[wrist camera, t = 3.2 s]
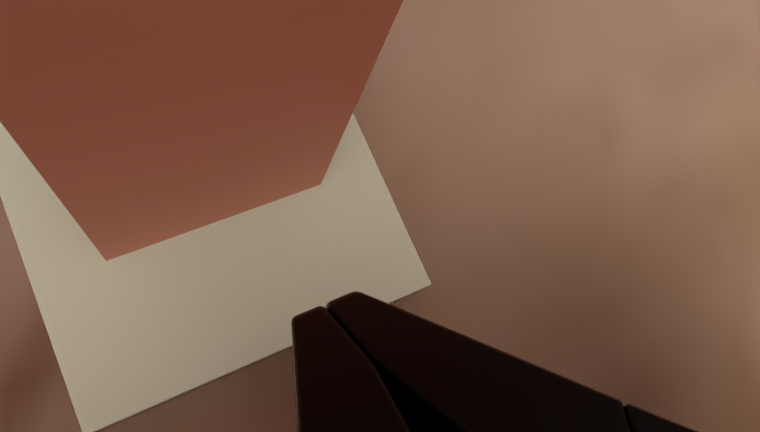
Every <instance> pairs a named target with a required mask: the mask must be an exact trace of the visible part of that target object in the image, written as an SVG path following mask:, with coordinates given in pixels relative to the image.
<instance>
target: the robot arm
mask: <svg viewBox="0 0 760 432" xmlns="http://www.w3.org/2000/svg"><path fill="white" fill-rule="evenodd" d="M291 330H292V347H293V364H294V382H295V399H296V416H297V432H698V431H695V430H693V429H690V428H688V427H685V426H682V425H680V424H677V423H675V422H672V421H670V420H667V419H665V418H662V417H660V416H657V415H655V414H653V413H650V412H648V411H645V410H643V409H641V408H638V407H636V406H633V405H631V404H627V405H625V406H623V403H622V402H621V401H620V400H618V399H616V398H613V397H611V396H609V395H606V394H604V393H602V392H599V391H597V390H594V389H592V388H590V387H587V386H585V385H582V384H580V383H578V382H575V381H573V380H570V379H568V378H566V377H563V376H561V375H558V374H556V373H554V372H551V371H549V370H546V369H544V368H542V367H539V366H537V365H534V364H532V363H530V362H527V361H525V360H522V359H520V358H518V357H515V356H513V355H510V354H508V353H506V352H503V351H501V350H498V349H496V348H494V347H491V346H489V345H486V344H484V343H482V342H479V341H477V340H474V339H472V338H470V337H467V336H465V335H462V334H460V333H458V332H455V331H453V330H450V329H448V328H446V327H443V326H441V325H438V324H436V323H434V322H431V321H429V320H427V319H424V318H422V317H419V316H417V315H415V314H412V313H410V312H407V311H405V310H403V309H400V308H398V307H395V306H393V305H391V304H388V303H386V302H383V301H381V300H379V299H376V298H374V297H371V296H369V295H367V294H364V293H362V292H357V291H354V292H350V293H348V294H346V295H343V296H341V297H339V298H336V299H334V300H331V301H329V302H328V303H327V305H326V308H325V307H323V306H317V307H315V308H312V309H310V310H308V311H305V312H303V313H301V314H298V315H296V316H294V317H293V318H292V321H291Z"/></svg>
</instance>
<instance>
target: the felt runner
mask: <svg viewBox="0 0 760 432" xmlns="http://www.w3.org/2000/svg"><path fill="white" fill-rule="evenodd" d="M0 196H1V199H2V202H3V205H4V208H5V211H6V213H7V216H8V219H9V222H10V225H11V228H12V231H13V234H14V237H15V239H16V242H17V245H18V248H19V251H20V254H21V257H22V260H23V262H24V265H25V268H26V271H27V274H28V277H29V280H30V283H31V286H32V288H33V291H34V294H35V297H36V300H37V303H38V306H39V309H40V311H41V314H42V317H43V320H44V323H45V326H46V329H47V332H48V335H49V337H50V340H51V343H52V346H53V349H54V352H55V355H56V358H57V360H58V363H59V366H60V369H61V372H62V375H63V378H64V381H65V384H66V386H67V389H68V392H69V395H70V398H71V401H72V404H73V407H74V409H75V412H76V415H77V418H78V421H79V424H80V427H81V430H82V432H97V431H99V430H101V429H103V428H106V427H108V426H110V425H113V424H115V423H117V422H120V421H122V420H124V419H126V418H129V417H131V416H133V415H136V414H138V413H140V412H142V411H145V410H147V409H149V408H152V407H154V406H156V405H158V404H161V403H163V402H165V401H168V400H170V399H172V398H174V397H177V396H179V395H181V394H184V393H186V392H188V391H191V390H193V389H195V388H197V387H200V386H202V385H204V384H207V383H209V382H211V381H213V380H216V379H218V378H220V377H223V376H225V375H227V374H229V373H232V372H234V371H236V370H239V369H241V368H243V367H246V366H248V365H250V364H252V363H255V362H257V361H259V360H262V359H264V358H266V357H268V356H271V355H273V354H275V353H278V352H280V351H282V350H284V349H287V348H289V347H291V346H292V330H291V321H292V318H293V317H294V316H296V315H298V314H301V313H303V312H305V311H308V310H310V309H312V308H315V307H317V306H323V307H325V308H326V305H327V303H328V302H329V301H331V300H334V299H336V298H339V297H341V296H343V295H346V294H348V293H350V292H354V291H357V292H362V293H364V294H367V295H369V296H371V297H374V298H376V299H379V300H381V301H383V302H386V303H388V304H390V303H392V302H394V301H397V300H399V299H401V298H404V297H406V296H408V295H411V294H413V293H415V292H417V291H420V290H422V289H424V288H426V287H428V286H429V285H431V282H430V280H429V278H428V275H427V273H426V271H425V269H424V267H423V264H422V262H421V260H420V258H419V256H418V254H417V251H416V249H415V247H414V245H413V243H412V240H411V238H410V236H409V234H408V232H407V230H406V227H405V225H404V223H403V221H402V219H401V216H400V214H399V212H398V210H397V208H396V206H395V203H394V201H393V199H392V197H391V195H390V192H389V190H388V188H387V186H386V184H385V182H384V179H383V177H382V175H381V173H380V171H379V168H378V166H377V164H376V162H375V160H374V158H373V155H372V153H371V151H370V149H369V147H368V144H367V142H366V140H365V138H364V136H363V134H362V131H361V129H360V127H359V125H358V123H357V121H356V118H355V116H354V114H353V113H352V115H351V118H350V120H349V122H348V124H347V127H346V129H345V131H344V133H343V136H342V138H341V140H340V142H339V145H338V147H337V149H336V151H335V153H334V156H333V158H332V160H331V162H330V165H329V167H328V169H327V171H326V174H325V176H324V178H323V180H322V183H321V185H318V186H315V187H312V188H310V189H307V190H304V191H301V192H298V193H296V194H293V195H290V196H287V197H284V198H282V199H279V200H276V201H273V202H270V203H268V204H265V205H262V206H259V207H256V208H254V209H251V210H248V211H245V212H242V213H240V214H237V215H234V216H231V217H228V218H226V219H223V220H220V221H217V222H214V223H212V224H209V225H206V226H203V227H200V228H198V229H195V230H192V231H189V232H186V233H184V234H181V235H178V236H175V237H172V238H170V239H167V240H164V241H161V242H158V243H156V244H153V245H150V246H147V247H144V248H142V249H139V250H136V251H133V252H130V253H128V254H125V255H122V256H119V257H116V258H113V259H111V260H108V261H106V260H105V259H104V257H103V256H102V255H101V254H100V252H99V251H98V250H97V248H96V247H95V246H94V244H93V243H92V242H91V240H90V239H89V238H88V236H87V235H86V234H85V233H84V231H83V230H82V229H81V227H80V226H79V225H78V223H77V222H76V221H75V219H74V218H73V217H72V215H71V214H70V213H69V211H68V210H67V209H66V208H65V206H64V205H63V204H62V202H61V201H60V200H59V198H58V197H57V196H56V194H55V193H54V192H53V190H52V189H51V188H50V187H49V185H48V184H47V183H46V181H45V180H44V179H43V177H42V176H41V175H40V173H39V172H38V171H37V169H36V168H35V167H34V165H33V164H32V163H31V162H30V160H29V159H28V158H27V156H26V155H25V154H24V152H23V151H22V150H21V148H20V147H19V146H18V144H17V143H16V142H15V141H14V139H13V138H12V137H11V135H10V134H9V133H8V131H7V130H6V129H5V127H4V126H3V125H2V123H1V122H0Z"/></svg>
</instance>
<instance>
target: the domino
mask: <svg viewBox="0 0 760 432" xmlns="http://www.w3.org/2000/svg"><path fill="white" fill-rule="evenodd" d="M402 1H403V0H0V122H1V123H2V125H3V126H4V127H5V129H6V130H7V131H8V133H9V134H10V135H11V137H12V138H13V139H14V141H15V142H16V143H17V144H18V146H19V147H20V148H21V150H22V151H23V152H24V154H25V155H26V156H27V158H28V159H29V160H30V162H31V163H32V164H33V165H34V167H35V168H36V169H37V171H38V172H39V173H40V175H41V176H42V177H43V179H44V180H45V181H46V183H47V184H48V185H49V187H50V188H51V189H52V190H53V192H54V193H55V194H56V196H57V197H58V198H59V200H60V201H61V202H62V204H63V205H64V206H65V208H66V209H67V210H68V211H69V213H70V214H71V215H72V217H73V218H74V219H75V221H76V222H77V223H78V225H79V226H80V227H81V229H82V230H83V231H84V233H85V234H86V235H87V236H88V238H89V239H90V240H91V242H92V243H93V244H94V246H95V247H96V248H97V250H98V251H99V252H100V254H101V255H102V256H103V257H104V259H105V260H106V261H108V260H111V259H113V258H116V257H119V256H122V255H125V254H128V253H130V252H133V251H136V250H139V249H142V248H144V247H147V246H150V245H153V244H156V243H158V242H161V241H164V240H167V239H170V238H172V237H175V236H178V235H181V234H184V233H186V232H189V231H192V230H195V229H198V228H200V227H203V226H206V225H209V224H212V223H214V222H217V221H220V220H223V219H226V218H228V217H231V216H234V215H237V214H240V213H242V212H245V211H248V210H251V209H254V208H256V207H259V206H262V205H265V204H268V203H270V202H273V201H276V200H279V199H282V198H284V197H287V196H290V195H293V194H296V193H298V192H301V191H304V190H307V189H310V188H312V187H315V186H318V185H321V183H322V180H323V178H324V176H325V174H326V171H327V169H328V167H329V165H330V162H331V160H332V158H333V156H334V153H335V151H336V149H337V147H338V145H339V142H340V140H341V138H342V136H343V133H344V131H345V129H346V127H347V124H348V122H349V120H350V118H351V115H352V113H353V111H354V109H355V107H356V104H357V102H358V100H359V98H360V95H361V93H362V91H363V89H364V86H365V84H366V82H367V80H368V77H369V75H370V73H371V71H372V69H373V66H374V64H375V62H376V60H377V57H378V55H379V53H380V51H381V48H382V46H383V44H384V42H385V39H386V37H387V35H388V33H389V31H390V28H391V26H392V24H393V22H394V19H395V17H396V15H397V13H398V10H399V8H400V6H401V4H402Z"/></svg>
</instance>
